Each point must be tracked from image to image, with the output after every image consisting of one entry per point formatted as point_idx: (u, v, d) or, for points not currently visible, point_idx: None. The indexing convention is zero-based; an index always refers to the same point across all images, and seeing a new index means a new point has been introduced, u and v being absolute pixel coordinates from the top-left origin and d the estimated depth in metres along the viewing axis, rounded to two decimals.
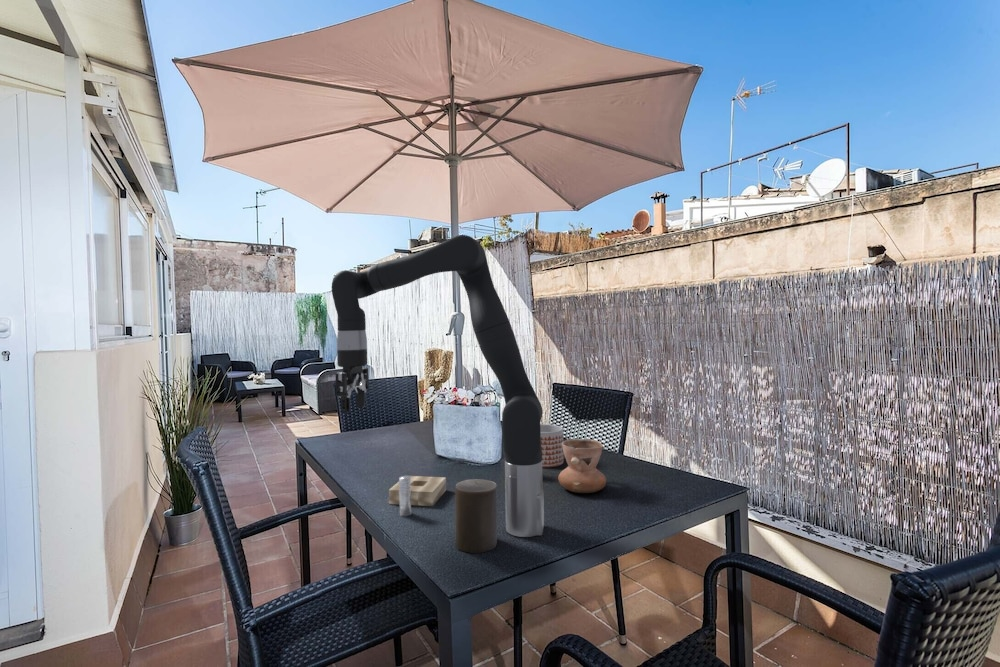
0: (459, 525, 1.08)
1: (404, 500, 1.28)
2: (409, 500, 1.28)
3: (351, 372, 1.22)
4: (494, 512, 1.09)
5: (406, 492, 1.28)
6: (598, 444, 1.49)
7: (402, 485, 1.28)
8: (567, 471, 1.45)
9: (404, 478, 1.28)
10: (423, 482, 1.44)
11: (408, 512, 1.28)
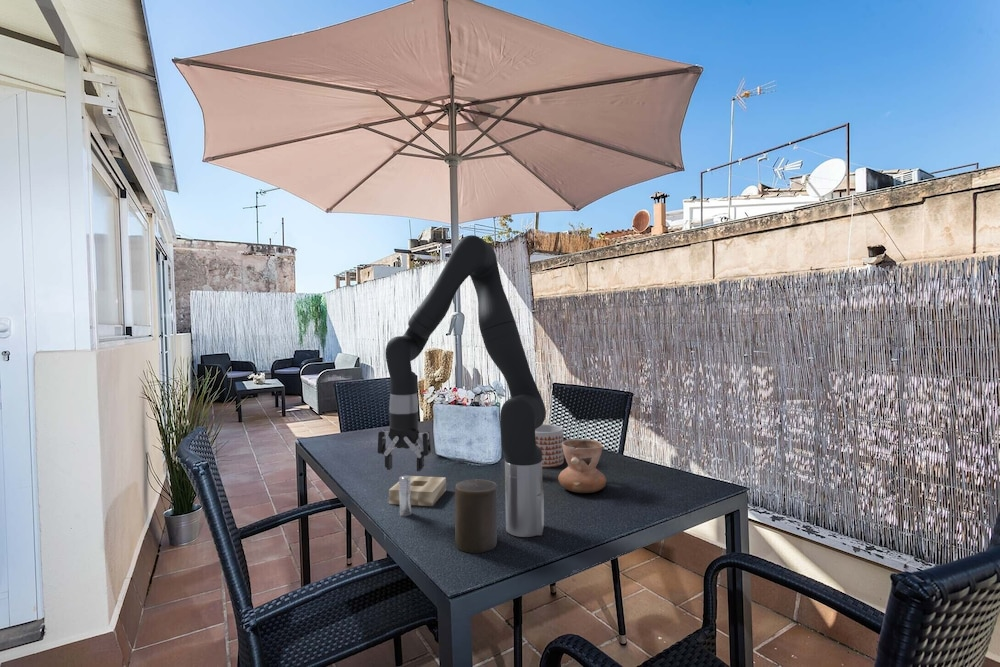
0: (459, 525, 1.08)
1: (404, 500, 1.28)
2: (409, 500, 1.28)
3: None
4: (494, 512, 1.09)
5: (406, 492, 1.28)
6: (598, 444, 1.49)
7: (402, 484, 1.28)
8: (567, 471, 1.45)
9: (404, 478, 1.28)
10: (423, 482, 1.44)
11: (408, 512, 1.28)
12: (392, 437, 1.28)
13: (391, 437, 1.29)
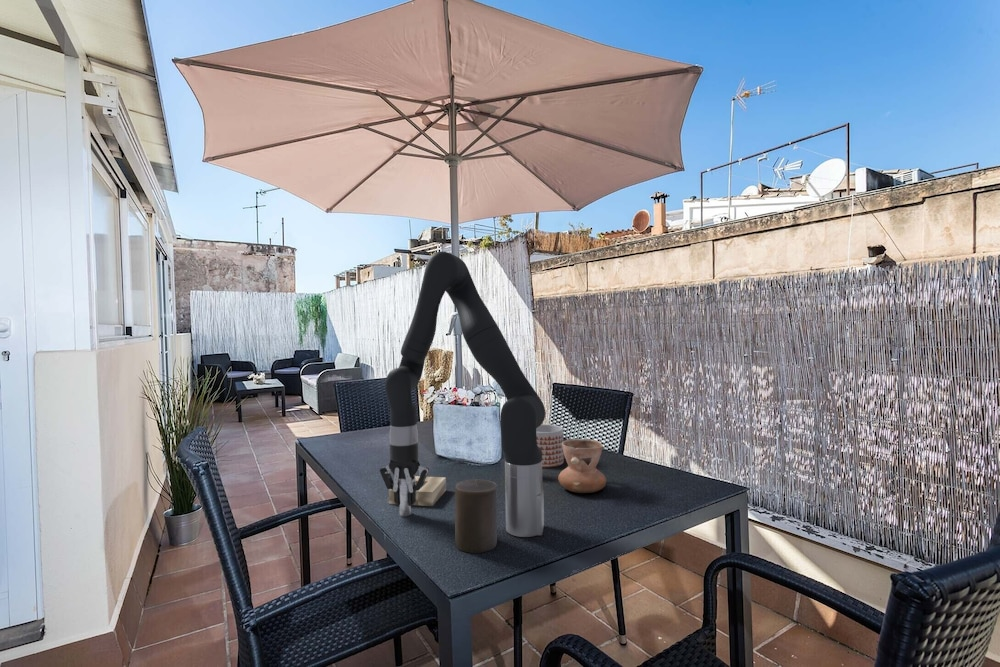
0: (459, 525, 1.08)
1: (404, 500, 1.28)
2: None
3: None
4: (494, 512, 1.09)
5: (406, 491, 1.28)
6: (598, 444, 1.49)
7: (402, 484, 1.28)
8: (567, 471, 1.45)
9: None
10: None
11: (408, 512, 1.28)
12: (392, 468, 1.28)
13: (391, 468, 1.29)
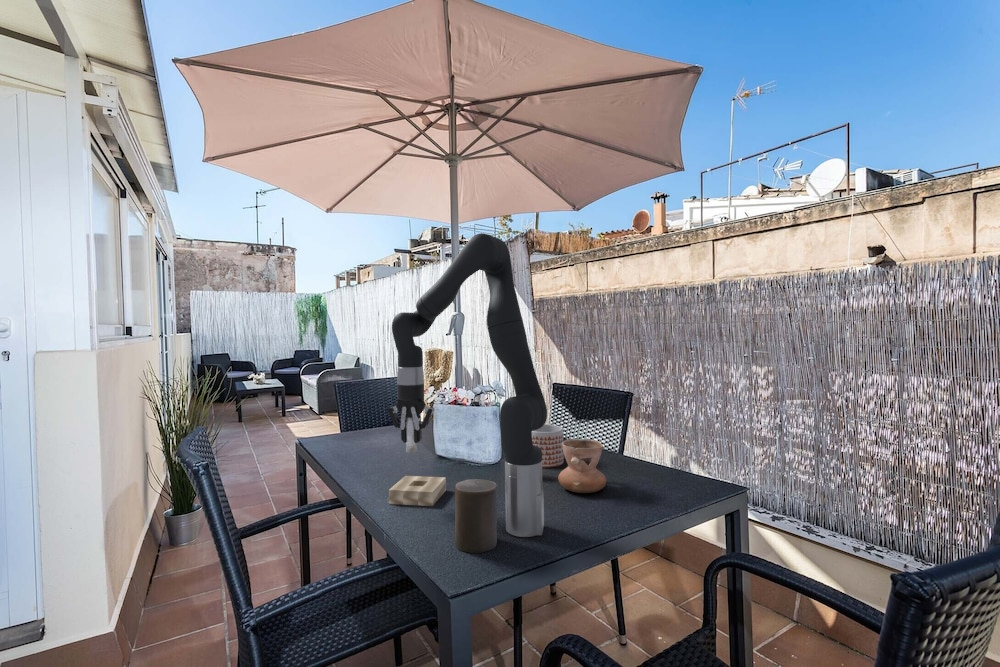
0: (459, 525, 1.08)
1: (410, 437, 1.36)
2: None
3: None
4: (494, 512, 1.09)
5: (413, 429, 1.36)
6: (598, 444, 1.49)
7: (409, 423, 1.36)
8: (567, 471, 1.45)
9: (410, 417, 1.36)
10: (423, 482, 1.44)
11: (414, 449, 1.36)
12: (400, 408, 1.37)
13: (399, 408, 1.37)
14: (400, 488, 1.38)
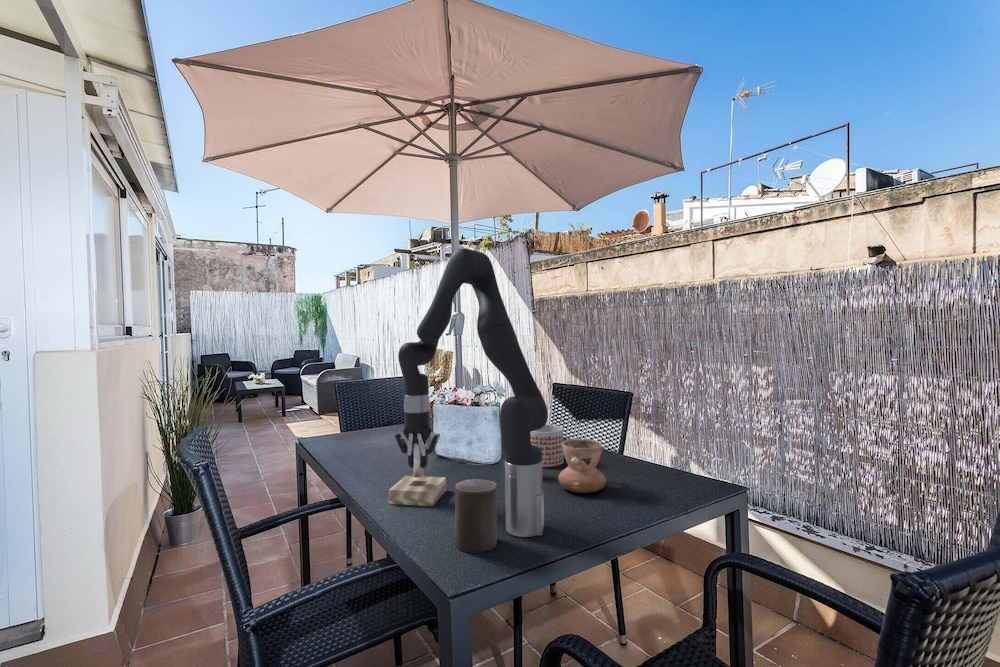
0: (459, 525, 1.08)
1: (417, 463, 1.41)
2: None
3: None
4: (494, 512, 1.09)
5: (419, 455, 1.41)
6: (598, 444, 1.49)
7: (416, 448, 1.41)
8: (567, 471, 1.45)
9: (417, 443, 1.41)
10: (423, 482, 1.44)
11: (421, 474, 1.41)
12: (407, 434, 1.41)
13: (406, 434, 1.41)
14: (400, 488, 1.38)
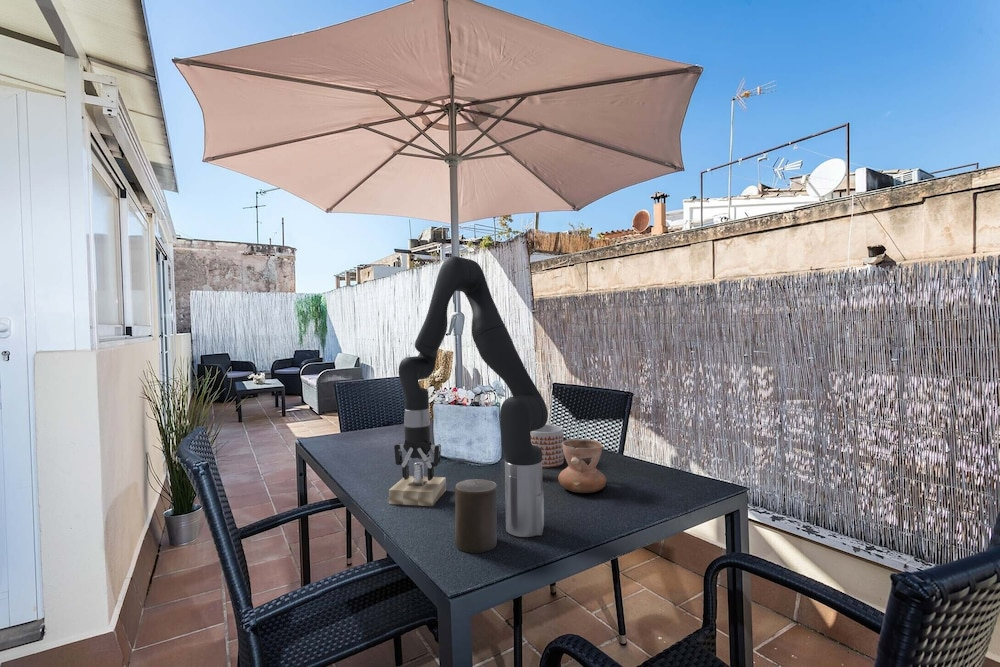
0: (459, 525, 1.08)
1: (417, 484, 1.41)
2: (422, 484, 1.41)
3: None
4: (494, 512, 1.09)
5: (420, 476, 1.41)
6: (598, 444, 1.49)
7: (416, 469, 1.41)
8: (567, 471, 1.45)
9: (418, 464, 1.41)
10: None
11: None
12: (407, 448, 1.41)
13: (406, 448, 1.41)
14: (400, 488, 1.38)
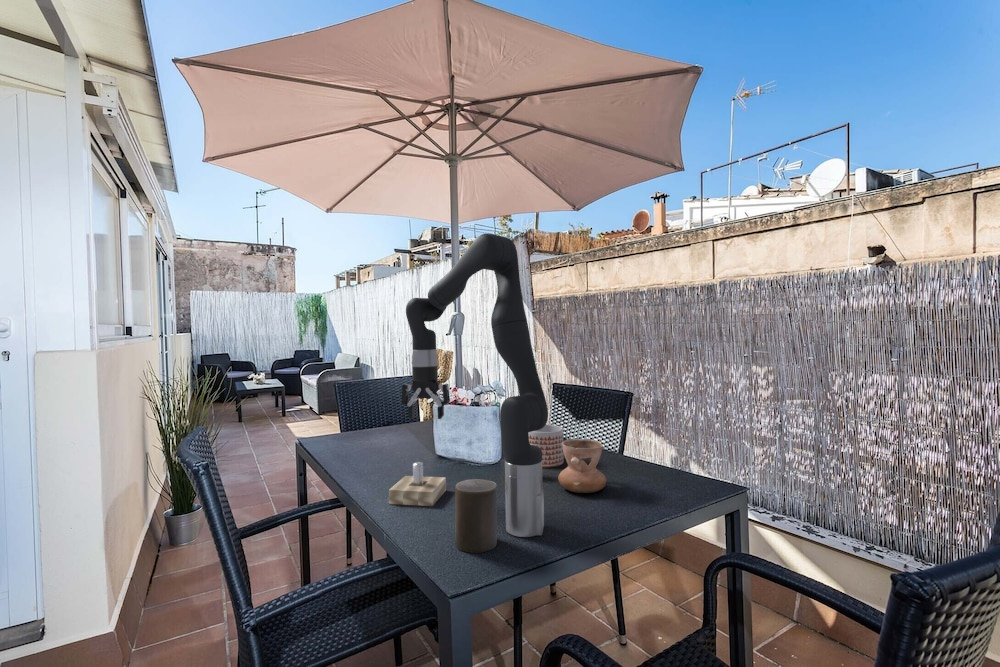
0: (459, 525, 1.08)
1: (417, 484, 1.41)
2: (422, 484, 1.41)
3: None
4: (494, 512, 1.09)
5: (419, 476, 1.41)
6: (598, 444, 1.49)
7: (416, 470, 1.41)
8: (567, 471, 1.45)
9: (417, 464, 1.41)
10: (423, 482, 1.44)
11: None
12: (415, 389, 1.43)
13: (414, 389, 1.43)
14: (400, 488, 1.38)
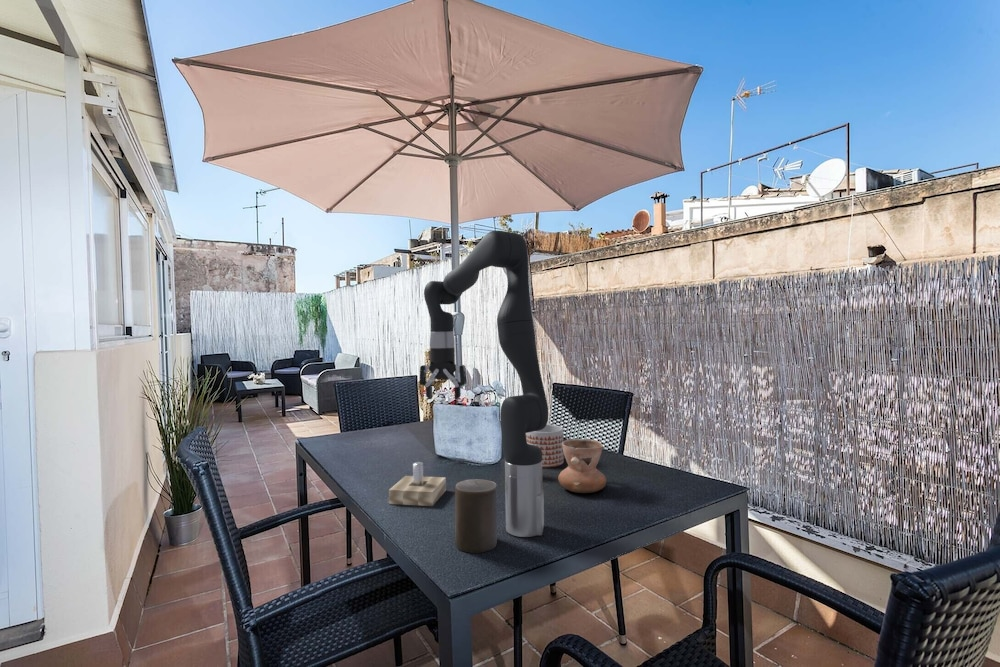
0: (459, 525, 1.08)
1: (417, 484, 1.41)
2: (422, 484, 1.41)
3: None
4: (494, 512, 1.09)
5: (419, 476, 1.41)
6: (598, 444, 1.49)
7: (416, 470, 1.41)
8: (567, 471, 1.45)
9: (417, 464, 1.41)
10: (423, 482, 1.44)
11: None
12: (432, 370, 1.47)
13: (431, 370, 1.47)
14: (400, 488, 1.38)
